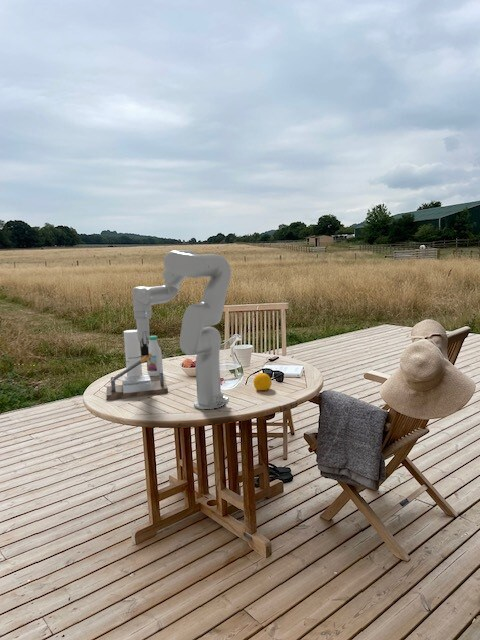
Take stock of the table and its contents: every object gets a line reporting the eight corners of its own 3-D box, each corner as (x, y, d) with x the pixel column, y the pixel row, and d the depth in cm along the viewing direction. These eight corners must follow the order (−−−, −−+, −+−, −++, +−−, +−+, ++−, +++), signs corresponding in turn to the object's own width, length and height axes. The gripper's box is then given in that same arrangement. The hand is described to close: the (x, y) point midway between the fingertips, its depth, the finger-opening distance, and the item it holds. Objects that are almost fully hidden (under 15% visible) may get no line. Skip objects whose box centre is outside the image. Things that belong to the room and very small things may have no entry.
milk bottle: (157, 371, 236) (155, 334, 233) (166, 374, 231) (163, 335, 228) (144, 375, 231) (142, 336, 228) (152, 377, 225) (150, 338, 222)
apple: (271, 392, 195) (270, 375, 193) (252, 392, 196) (252, 375, 194) (272, 387, 202) (271, 370, 201) (254, 387, 203) (254, 370, 202)
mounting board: (106, 400, 193) (106, 395, 193) (107, 390, 206) (106, 386, 206) (168, 392, 200) (167, 388, 200) (164, 384, 213) (164, 380, 213)
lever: (112, 382, 197) (111, 380, 197) (112, 380, 202) (111, 378, 201) (152, 356, 201) (151, 354, 200) (151, 354, 205) (150, 352, 205)
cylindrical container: (138, 384, 215) (135, 332, 211) (124, 383, 217) (120, 332, 213) (144, 379, 222) (141, 329, 218) (131, 379, 223) (127, 329, 220)
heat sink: (111, 394, 193) (110, 381, 193) (111, 386, 206) (110, 373, 206) (164, 388, 199) (164, 375, 199) (161, 380, 212) (160, 368, 212)
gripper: (133, 312, 205) (135, 352, 208) (134, 317, 191) (137, 359, 194) (149, 311, 207) (152, 350, 210) (152, 316, 193) (155, 358, 196)
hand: (145, 355), depth 202 cm, fingers closed
